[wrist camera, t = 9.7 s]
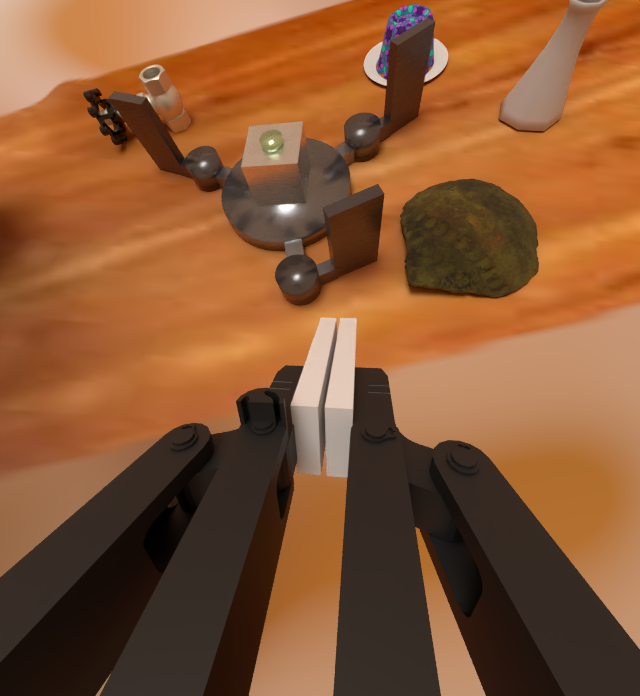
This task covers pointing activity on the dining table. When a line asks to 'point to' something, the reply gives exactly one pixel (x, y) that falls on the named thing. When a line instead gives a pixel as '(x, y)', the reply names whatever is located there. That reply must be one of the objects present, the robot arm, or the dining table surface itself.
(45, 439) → the dining table surface
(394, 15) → the pudding
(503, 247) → the pottery fragment
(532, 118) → the flask
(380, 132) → the tribrach
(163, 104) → the valve
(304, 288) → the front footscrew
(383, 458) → the robot arm
